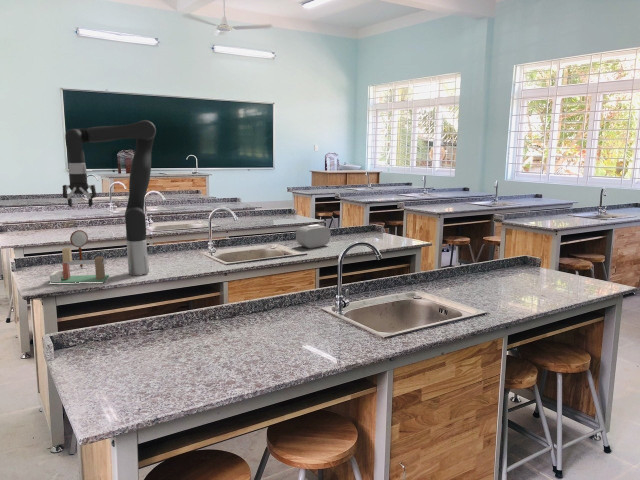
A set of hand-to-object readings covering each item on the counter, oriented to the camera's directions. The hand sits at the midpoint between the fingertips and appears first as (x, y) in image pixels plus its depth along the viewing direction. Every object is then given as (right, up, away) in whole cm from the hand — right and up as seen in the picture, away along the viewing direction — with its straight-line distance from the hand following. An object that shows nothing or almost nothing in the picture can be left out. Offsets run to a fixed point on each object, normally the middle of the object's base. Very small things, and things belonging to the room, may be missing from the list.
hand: (80, 206), depth 243 cm
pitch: (0, -35, 0) cm, 35 cm away
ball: (-9, -32, -3) cm, 33 cm away
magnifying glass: (-9, -31, +20) cm, 38 cm away
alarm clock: (+109, -20, +78) cm, 136 cm away
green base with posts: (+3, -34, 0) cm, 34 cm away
